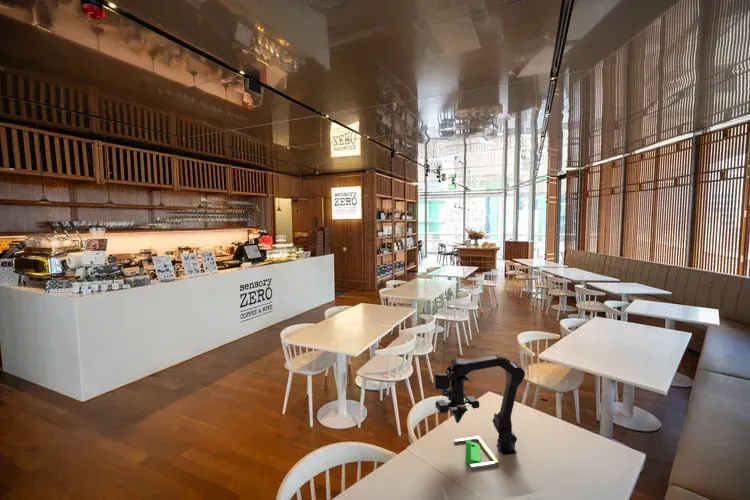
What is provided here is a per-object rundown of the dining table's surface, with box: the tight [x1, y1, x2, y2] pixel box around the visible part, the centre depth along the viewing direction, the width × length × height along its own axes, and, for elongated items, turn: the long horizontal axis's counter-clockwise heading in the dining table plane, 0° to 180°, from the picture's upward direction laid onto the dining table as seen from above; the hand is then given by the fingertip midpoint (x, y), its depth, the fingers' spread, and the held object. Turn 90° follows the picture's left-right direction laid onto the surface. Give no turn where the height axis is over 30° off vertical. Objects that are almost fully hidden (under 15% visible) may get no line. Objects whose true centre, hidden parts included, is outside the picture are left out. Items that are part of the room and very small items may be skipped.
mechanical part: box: [465, 440, 482, 465], centre depth 144 cm, size 12×6×8 cm, turn 164°
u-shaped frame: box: [453, 435, 500, 471], centre depth 144 cm, size 12×17×2 cm
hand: (457, 422), depth 147 cm, fingers closed
